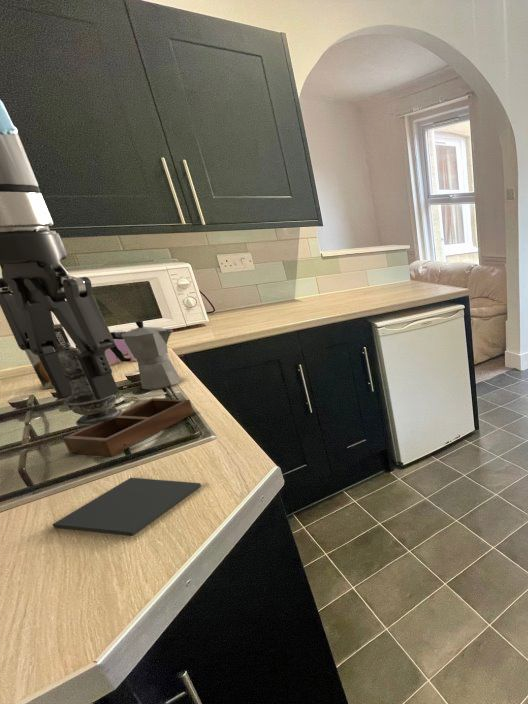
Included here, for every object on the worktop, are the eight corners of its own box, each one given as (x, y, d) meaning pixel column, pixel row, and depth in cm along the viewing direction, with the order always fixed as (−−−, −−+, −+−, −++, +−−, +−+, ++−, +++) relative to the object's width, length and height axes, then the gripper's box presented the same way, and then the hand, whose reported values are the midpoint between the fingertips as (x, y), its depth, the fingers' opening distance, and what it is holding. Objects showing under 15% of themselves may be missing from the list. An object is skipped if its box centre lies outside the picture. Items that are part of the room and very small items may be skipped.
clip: (111, 351, 148) (103, 332, 146) (155, 345, 154) (148, 326, 152) (97, 366, 133) (88, 345, 130) (147, 359, 139) (139, 339, 136)
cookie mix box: (89, 375, 125) (66, 322, 119) (87, 381, 121) (63, 326, 115) (46, 383, 120) (20, 328, 114) (42, 389, 116) (14, 332, 109)
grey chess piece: (116, 406, 68) (85, 334, 63) (131, 414, 65) (100, 339, 60) (67, 421, 63) (30, 344, 58) (81, 430, 60) (43, 350, 56)
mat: (53, 527, 63) (51, 524, 63) (131, 480, 74) (130, 477, 74) (132, 535, 61) (131, 532, 61) (201, 486, 72) (200, 483, 72)
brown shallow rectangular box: (69, 453, 83) (62, 438, 82) (158, 411, 100) (152, 398, 99) (112, 456, 82) (105, 440, 80) (194, 413, 99) (189, 399, 98)
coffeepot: (194, 374, 124) (174, 314, 117) (184, 385, 115) (161, 322, 109) (131, 382, 119) (106, 320, 112) (115, 394, 111) (87, 328, 104)
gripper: (107, 227, 56) (166, 387, 64) (-7, 230, 58) (65, 383, 67) (41, 229, 49) (117, 408, 58) (-85, 232, 52) (6, 403, 60)
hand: (89, 394), depth 62 cm, fingers closed on grey chess piece, 6 cm apart
